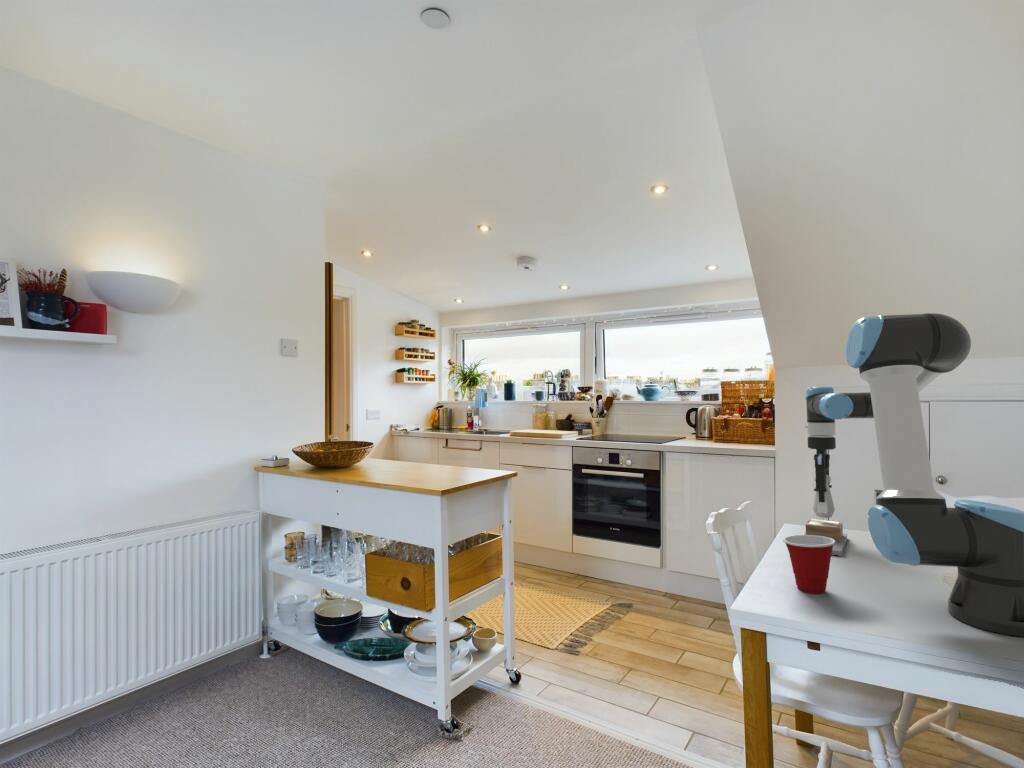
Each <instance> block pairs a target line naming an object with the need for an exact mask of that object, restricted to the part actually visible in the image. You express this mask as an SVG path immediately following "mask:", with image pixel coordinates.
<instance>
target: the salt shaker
mask: <svg viewBox="0 0 1024 768" xmlns="http://www.w3.org/2000/svg"><path fill="white" fill-rule="evenodd" d="M814 482H816V474H815V475H814ZM829 482H830V483H831V476H830V474H829V475H826V489H827V506H828V513H819V512H817V491H814V492H815V493H814V497H813V498H814V499H813V503H812V504H813V505H812V510H813V512H814V514H815V515H816V517H819V518H821V519H822V518H824V519H825V518H826V519H830V518H832V517H833V515H834V512H835V505H834V501H833V497H832V493H831V488H829V485H830V484H828V483H829Z"/></svg>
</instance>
